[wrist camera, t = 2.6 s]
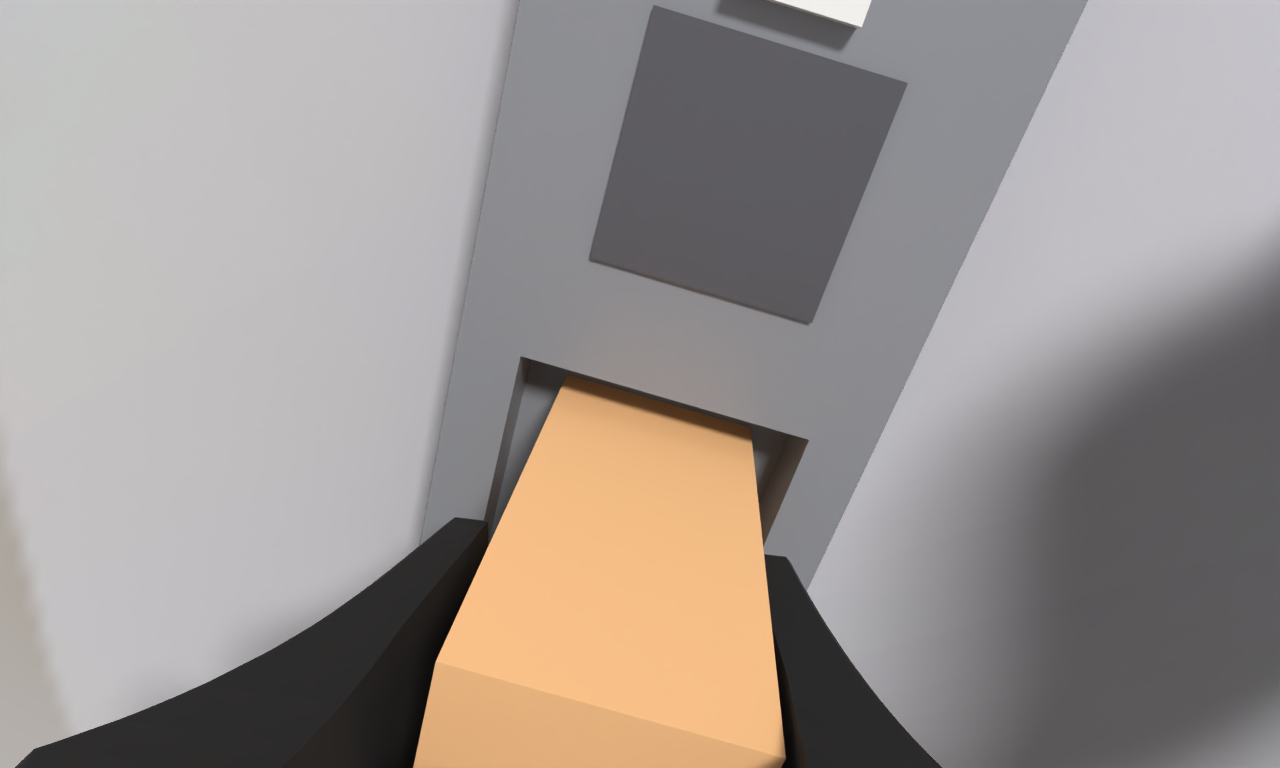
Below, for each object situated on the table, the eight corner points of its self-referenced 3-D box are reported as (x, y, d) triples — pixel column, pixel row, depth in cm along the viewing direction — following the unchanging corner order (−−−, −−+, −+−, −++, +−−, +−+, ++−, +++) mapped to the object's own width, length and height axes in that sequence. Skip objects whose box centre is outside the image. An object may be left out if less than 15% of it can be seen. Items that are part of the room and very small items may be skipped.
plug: (750, 427, 15) (785, 758, 8) (693, 573, 17) (681, 957, 10) (567, 374, 15) (435, 661, 8) (527, 526, 17) (389, 879, 10)
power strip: (1363, -728, 9) (1577, -987, 7) (733, 671, 19) (737, 752, 17) (735, -950, 9) (745, -1290, 6) (431, 587, 19) (394, 657, 16)
